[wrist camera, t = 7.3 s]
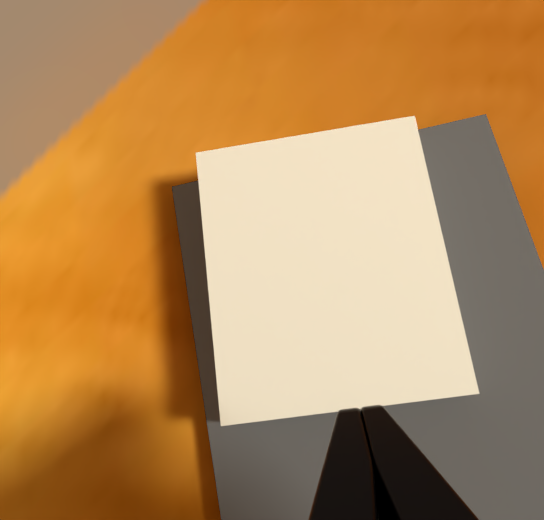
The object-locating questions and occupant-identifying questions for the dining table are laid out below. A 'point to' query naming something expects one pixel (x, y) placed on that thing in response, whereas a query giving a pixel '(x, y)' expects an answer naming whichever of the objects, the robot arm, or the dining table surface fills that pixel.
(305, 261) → the tile
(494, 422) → the mat
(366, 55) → the dining table surface
